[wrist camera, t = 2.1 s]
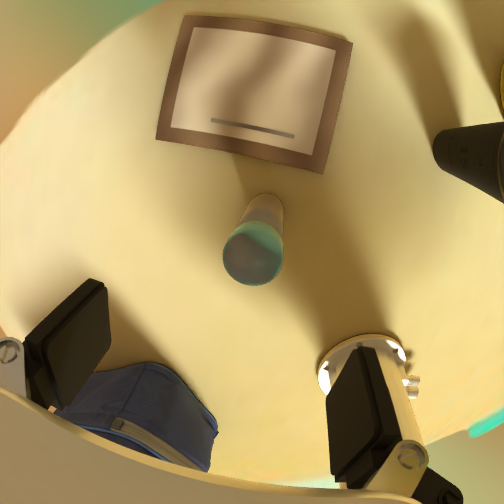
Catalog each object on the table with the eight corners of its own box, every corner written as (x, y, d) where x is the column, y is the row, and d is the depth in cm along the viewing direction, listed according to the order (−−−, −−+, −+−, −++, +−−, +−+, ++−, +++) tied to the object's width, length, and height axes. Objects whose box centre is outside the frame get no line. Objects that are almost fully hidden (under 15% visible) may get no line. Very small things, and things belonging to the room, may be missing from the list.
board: (350, 46, 23) (353, 42, 21) (321, 172, 28) (323, 174, 27) (187, 19, 23) (183, 14, 22) (160, 139, 29) (154, 139, 27)
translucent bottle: (288, 195, 29) (289, 238, 18) (279, 229, 31) (274, 291, 19) (252, 187, 30) (228, 223, 18) (244, 221, 31) (218, 277, 19)
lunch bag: (122, 439, 54) (90, 505, 35) (59, 376, 48) (10, 443, 29) (235, 430, 45) (214, 530, 26) (162, 348, 39) (101, 465, 20)
